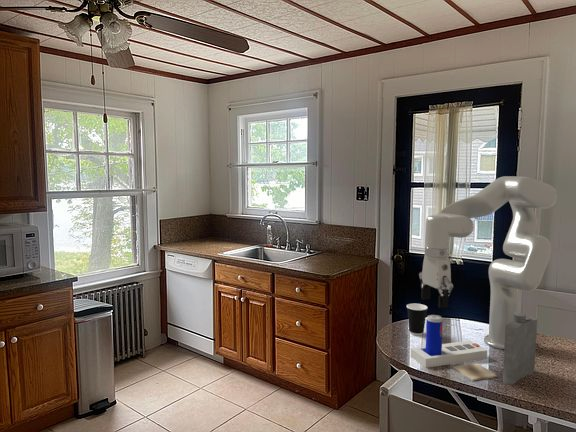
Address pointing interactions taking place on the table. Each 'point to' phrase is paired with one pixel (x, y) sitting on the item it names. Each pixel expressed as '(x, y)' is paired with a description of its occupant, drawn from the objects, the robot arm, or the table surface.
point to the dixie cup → (416, 318)
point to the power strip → (450, 354)
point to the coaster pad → (475, 371)
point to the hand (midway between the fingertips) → (434, 303)
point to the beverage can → (434, 335)
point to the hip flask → (519, 348)
